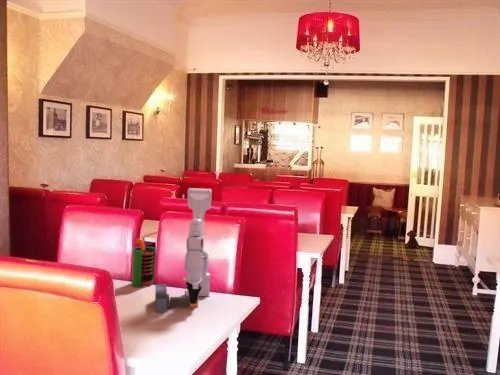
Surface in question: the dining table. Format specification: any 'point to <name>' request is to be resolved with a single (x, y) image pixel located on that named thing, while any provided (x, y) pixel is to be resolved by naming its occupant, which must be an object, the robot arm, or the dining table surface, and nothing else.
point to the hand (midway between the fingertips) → (193, 301)
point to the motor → (143, 265)
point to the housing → (161, 298)
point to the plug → (180, 302)
